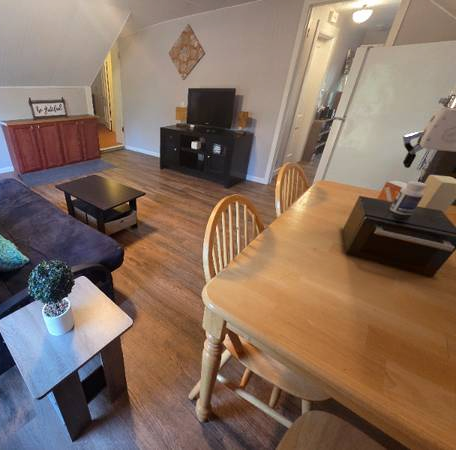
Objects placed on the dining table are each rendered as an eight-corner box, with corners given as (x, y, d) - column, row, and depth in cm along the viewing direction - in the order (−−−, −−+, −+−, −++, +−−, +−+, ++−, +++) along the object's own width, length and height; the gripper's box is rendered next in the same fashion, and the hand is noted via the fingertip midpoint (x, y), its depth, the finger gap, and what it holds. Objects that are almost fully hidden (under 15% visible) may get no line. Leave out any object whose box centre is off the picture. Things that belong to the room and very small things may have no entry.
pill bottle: (416, 215, 76) (435, 186, 71) (401, 216, 76) (419, 187, 70) (398, 207, 81) (415, 179, 76) (385, 208, 80) (401, 180, 75)
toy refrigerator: (431, 235, 93) (469, 184, 82) (408, 232, 95) (441, 182, 84) (420, 225, 100) (453, 176, 89) (398, 222, 102) (428, 174, 91)
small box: (371, 207, 113) (386, 181, 106) (383, 206, 114) (398, 180, 107) (388, 216, 106) (405, 188, 99) (401, 214, 107) (418, 187, 100)
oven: (429, 274, 75) (462, 234, 67) (345, 251, 85) (364, 214, 77) (415, 247, 87) (441, 210, 79) (342, 230, 96) (359, 195, 88)
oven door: (436, 287, 71) (472, 247, 63) (346, 261, 80) (367, 224, 72) (430, 274, 75) (462, 235, 67) (345, 251, 84) (364, 215, 76)
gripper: (425, 103, 63) (392, 168, 72) (528, 106, 55) (476, 178, 64) (417, 101, 68) (387, 161, 77) (509, 103, 61) (464, 170, 70)
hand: (428, 169), depth 71 cm, fingers open, 9 cm apart
